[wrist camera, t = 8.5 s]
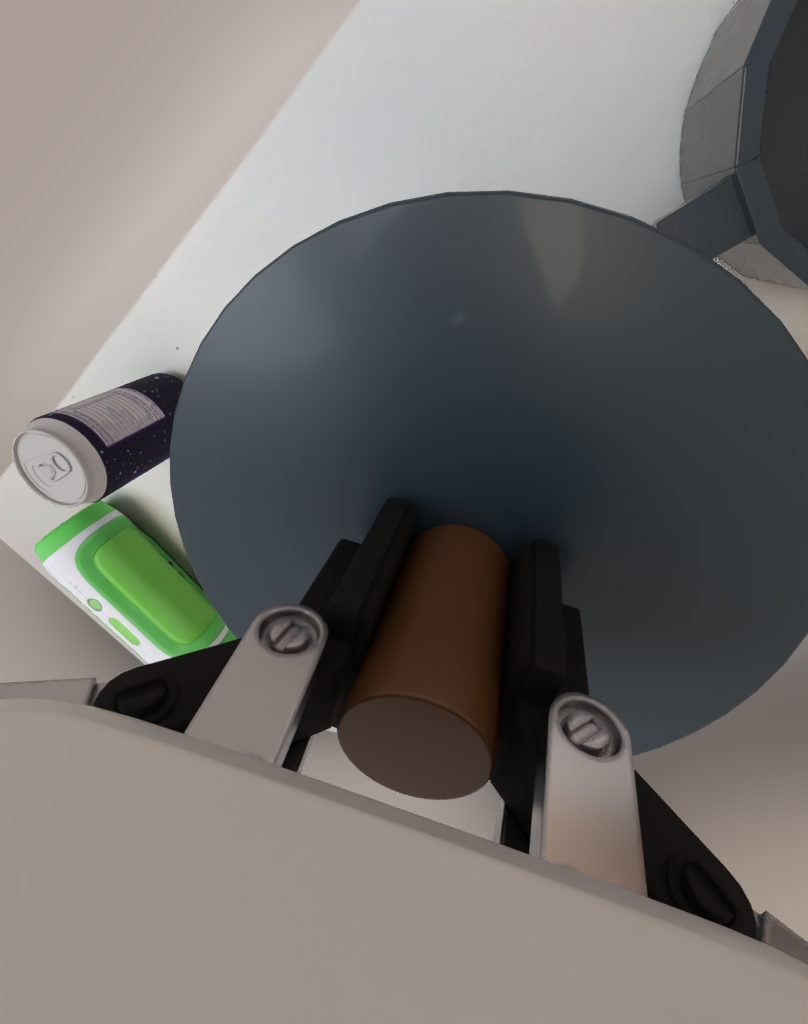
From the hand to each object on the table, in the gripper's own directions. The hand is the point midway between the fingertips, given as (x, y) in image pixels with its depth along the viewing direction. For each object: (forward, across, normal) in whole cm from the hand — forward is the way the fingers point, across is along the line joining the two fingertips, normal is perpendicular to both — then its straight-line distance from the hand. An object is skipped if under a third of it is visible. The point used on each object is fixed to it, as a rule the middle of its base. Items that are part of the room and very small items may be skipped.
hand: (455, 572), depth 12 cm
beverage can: (+23, +24, +9) cm, 34 cm away
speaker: (+23, +26, +27) cm, 44 cm away
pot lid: (+1, 0, 0) cm, 1 cm away
